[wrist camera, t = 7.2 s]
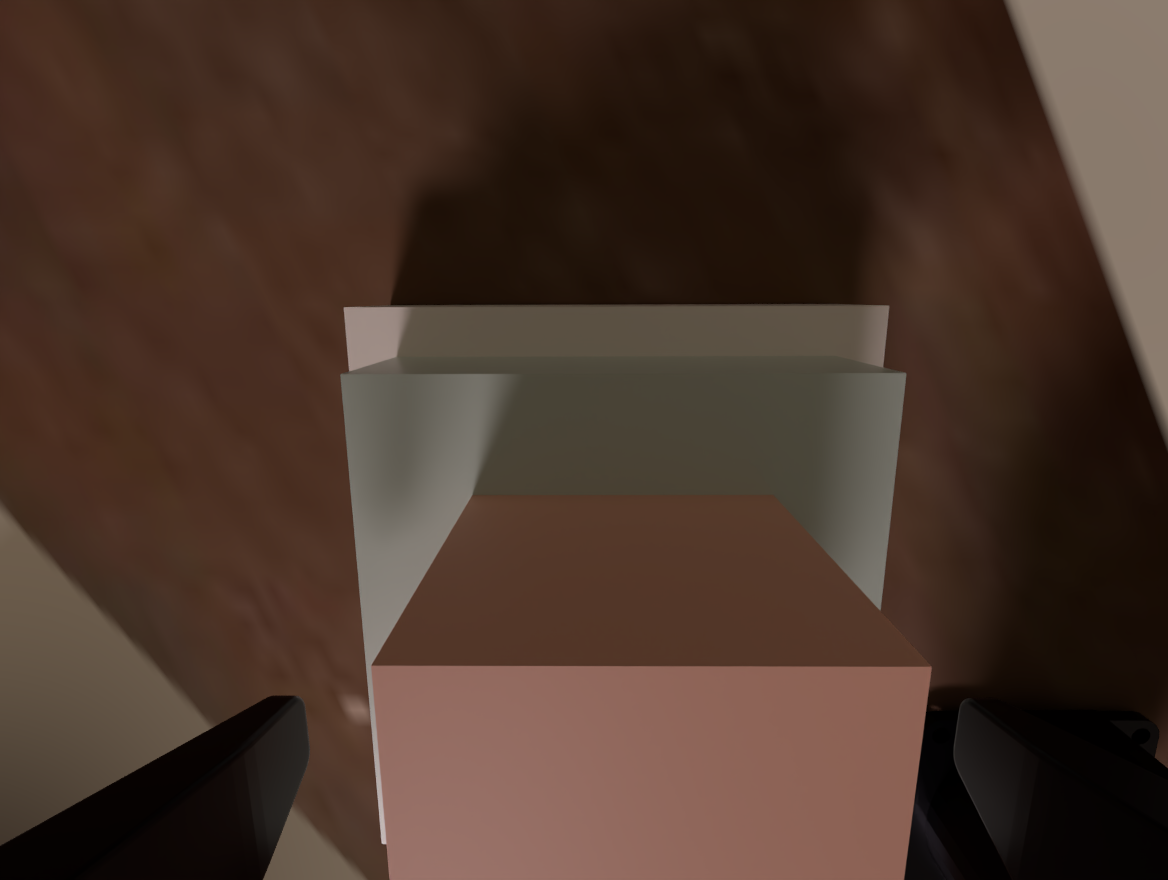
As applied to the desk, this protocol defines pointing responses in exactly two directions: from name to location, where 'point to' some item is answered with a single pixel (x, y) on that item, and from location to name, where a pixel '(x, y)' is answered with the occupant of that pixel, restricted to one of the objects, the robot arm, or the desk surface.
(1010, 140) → the desk surface
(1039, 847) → the robot arm
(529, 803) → the terracotta block
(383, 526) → the tower base
